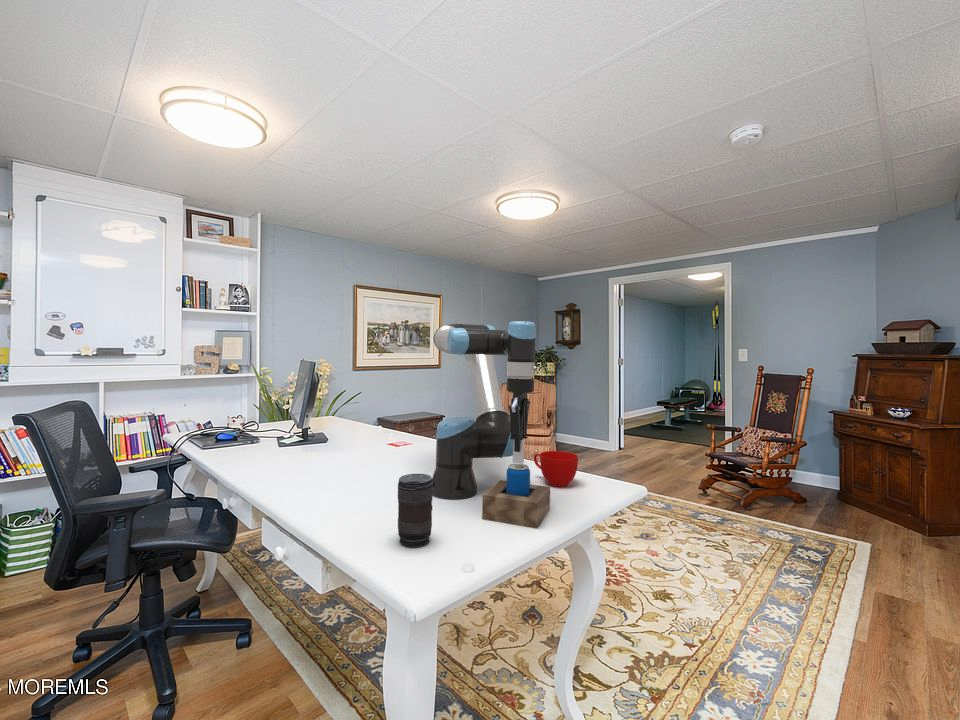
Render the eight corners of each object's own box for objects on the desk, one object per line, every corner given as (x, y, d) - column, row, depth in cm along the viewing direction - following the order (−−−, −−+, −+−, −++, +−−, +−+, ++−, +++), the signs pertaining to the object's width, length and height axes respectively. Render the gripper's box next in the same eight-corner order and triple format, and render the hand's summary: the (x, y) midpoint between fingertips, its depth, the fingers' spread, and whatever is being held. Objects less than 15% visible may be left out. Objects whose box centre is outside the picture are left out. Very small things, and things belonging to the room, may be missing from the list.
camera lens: (398, 534, 106) (399, 472, 106) (432, 534, 107) (433, 472, 106) (394, 549, 98) (396, 482, 98) (431, 548, 99) (432, 482, 98)
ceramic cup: (544, 474, 162) (545, 447, 162) (584, 484, 151) (585, 455, 150) (522, 480, 153) (523, 452, 153) (563, 492, 141) (564, 461, 141)
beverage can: (531, 507, 123) (532, 464, 123) (526, 515, 117) (527, 470, 117) (509, 504, 125) (510, 462, 125) (502, 511, 119) (504, 467, 119)
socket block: (482, 519, 117) (482, 494, 117) (500, 501, 131) (500, 480, 131) (536, 528, 112) (537, 503, 111) (549, 509, 126) (550, 486, 125)
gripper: (527, 379, 113) (524, 470, 114) (539, 377, 125) (537, 459, 126) (500, 378, 116) (497, 466, 117) (514, 375, 128) (512, 456, 129)
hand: (518, 462), depth 121 cm, fingers closed
